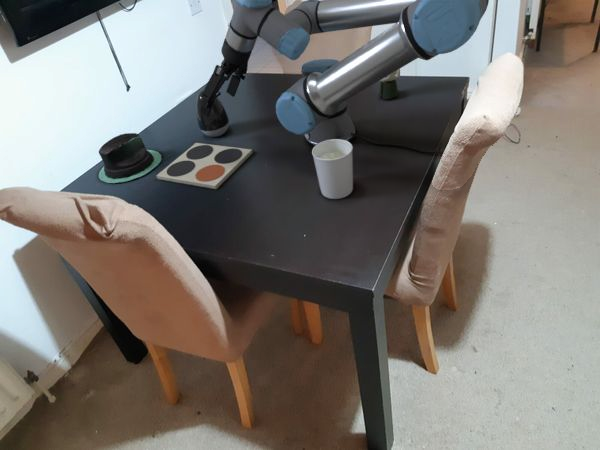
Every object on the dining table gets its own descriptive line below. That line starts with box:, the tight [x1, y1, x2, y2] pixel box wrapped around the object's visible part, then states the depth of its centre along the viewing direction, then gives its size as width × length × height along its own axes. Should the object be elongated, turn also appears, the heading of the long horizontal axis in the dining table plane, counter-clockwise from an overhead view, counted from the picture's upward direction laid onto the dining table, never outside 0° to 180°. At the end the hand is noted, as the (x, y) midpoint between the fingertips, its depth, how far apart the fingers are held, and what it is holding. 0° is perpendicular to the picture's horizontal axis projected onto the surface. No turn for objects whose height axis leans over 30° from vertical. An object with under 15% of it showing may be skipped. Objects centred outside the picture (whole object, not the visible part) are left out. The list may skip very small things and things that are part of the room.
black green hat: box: [98, 132, 162, 184], centre depth 138 cm, size 15×19×20 cm
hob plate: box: [155, 142, 254, 190], centre depth 133 cm, size 22×20×1 cm
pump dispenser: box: [195, 90, 230, 138], centre depth 145 cm, size 10×10×15 cm
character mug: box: [378, 68, 401, 100], centre depth 147 cm, size 11×7×13 cm, turn 34°
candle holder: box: [311, 139, 354, 200], centre depth 109 cm, size 10×10×12 cm
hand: (217, 103), depth 130 cm, fingers open, 13 cm apart
